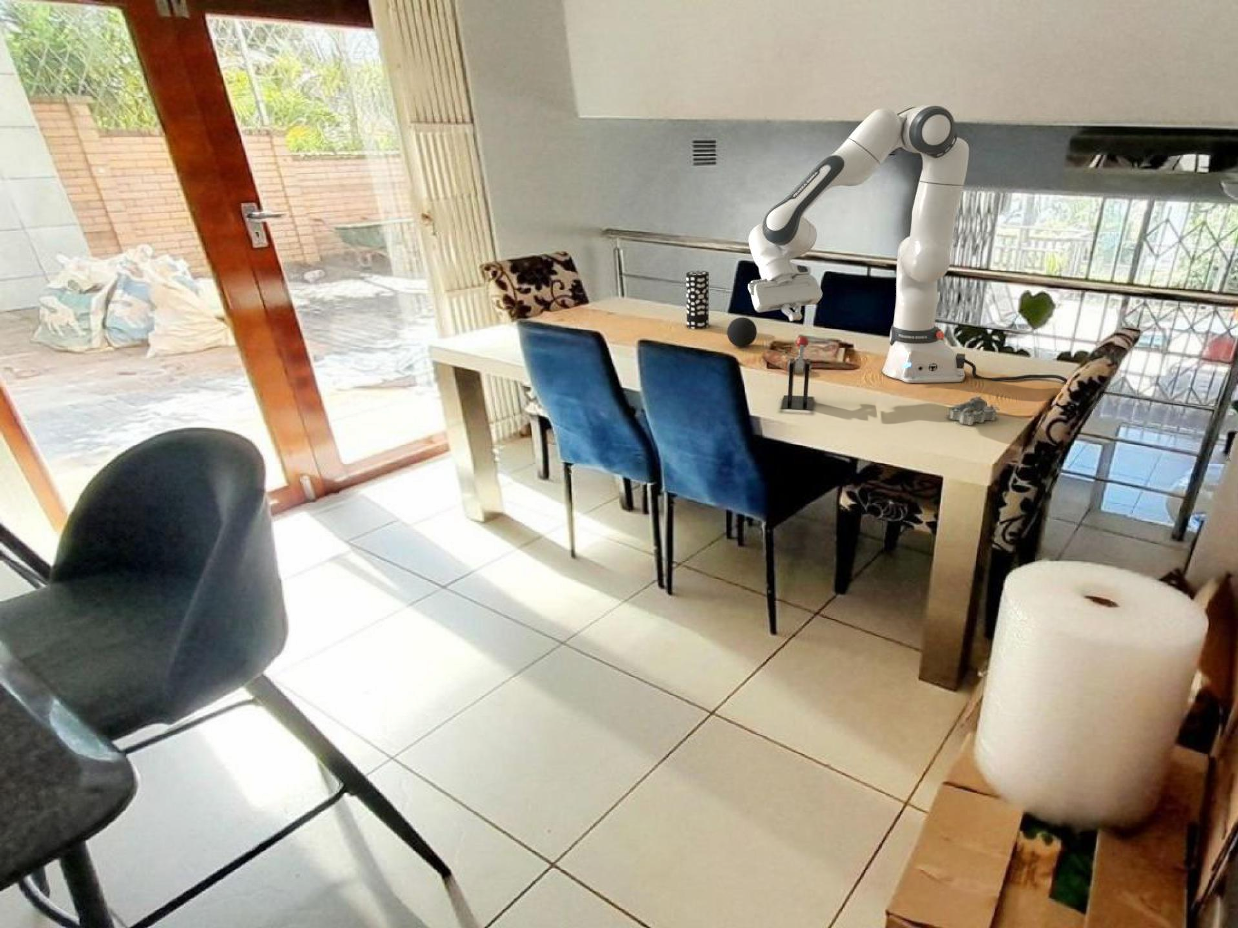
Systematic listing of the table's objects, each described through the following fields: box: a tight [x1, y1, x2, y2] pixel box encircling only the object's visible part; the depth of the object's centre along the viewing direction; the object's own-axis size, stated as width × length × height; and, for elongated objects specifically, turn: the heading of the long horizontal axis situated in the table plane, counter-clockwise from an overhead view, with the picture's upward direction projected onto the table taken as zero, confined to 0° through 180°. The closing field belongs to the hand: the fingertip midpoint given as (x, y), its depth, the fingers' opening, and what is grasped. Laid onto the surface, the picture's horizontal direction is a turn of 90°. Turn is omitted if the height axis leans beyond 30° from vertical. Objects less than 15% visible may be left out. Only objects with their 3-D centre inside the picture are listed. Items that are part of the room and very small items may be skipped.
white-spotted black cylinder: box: [685, 270, 710, 330], centre depth 265 cm, size 8×8×20 cm
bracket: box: [780, 358, 815, 412], centre depth 187 cm, size 10×8×13 cm
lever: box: [794, 335, 810, 375], centre depth 188 cm, size 13×3×3 cm, turn 162°
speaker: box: [726, 316, 758, 348], centre depth 240 cm, size 10×10×10 cm
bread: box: [761, 349, 806, 375], centre depth 218 cm, size 6×19×6 cm, turn 20°
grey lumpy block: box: [947, 395, 1000, 426], centre depth 176 cm, size 11×8×4 cm
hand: (796, 319), depth 192 cm, fingers closed
